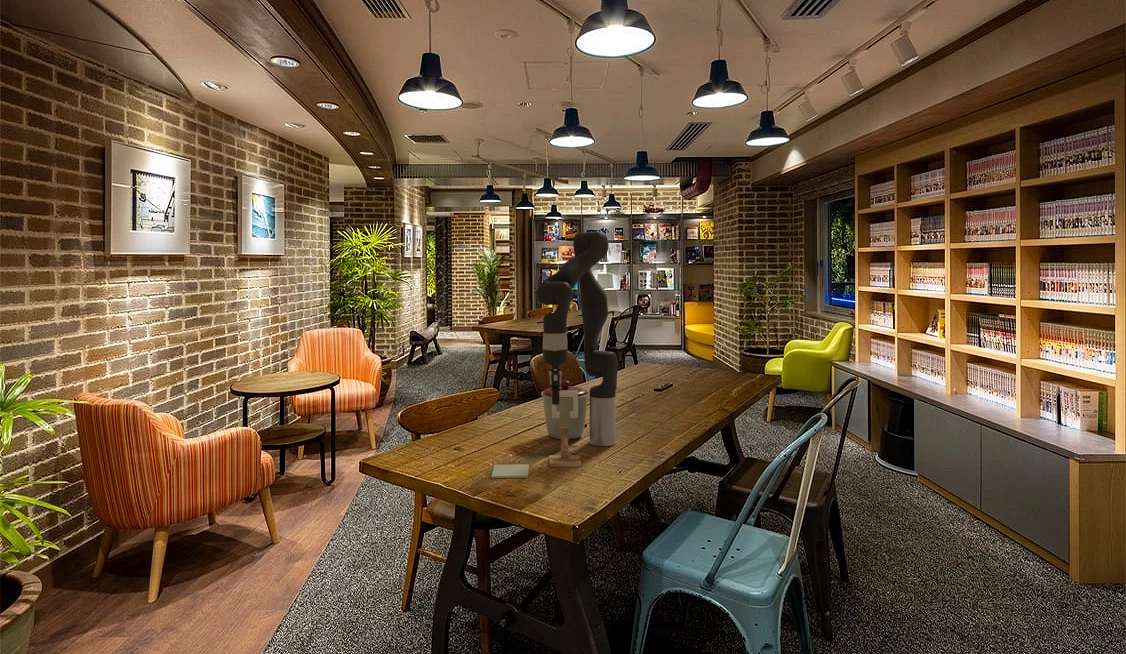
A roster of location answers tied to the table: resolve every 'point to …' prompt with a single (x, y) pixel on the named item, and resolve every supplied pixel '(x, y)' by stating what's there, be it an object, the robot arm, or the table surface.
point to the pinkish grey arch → (575, 403)
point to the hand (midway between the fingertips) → (555, 402)
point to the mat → (510, 471)
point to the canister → (565, 412)
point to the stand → (564, 454)
